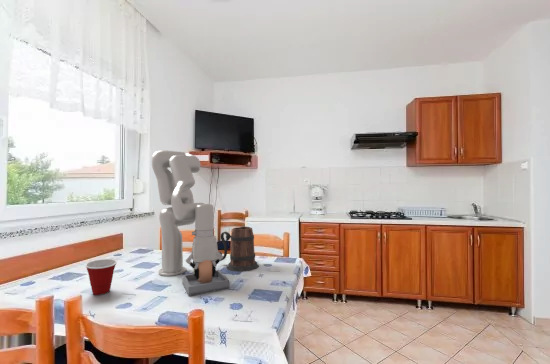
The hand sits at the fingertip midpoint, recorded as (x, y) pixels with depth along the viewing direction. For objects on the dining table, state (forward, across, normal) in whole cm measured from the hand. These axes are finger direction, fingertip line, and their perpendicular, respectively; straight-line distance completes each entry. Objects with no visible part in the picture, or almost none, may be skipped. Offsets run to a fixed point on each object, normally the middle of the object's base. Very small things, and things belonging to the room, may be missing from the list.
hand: (205, 276), depth 115 cm
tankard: (+4, +21, +21) cm, 30 cm away
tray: (+4, 0, 0) cm, 4 cm away
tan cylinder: (+2, 0, 0) cm, 2 cm away
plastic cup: (+4, -38, +13) cm, 40 cm away
